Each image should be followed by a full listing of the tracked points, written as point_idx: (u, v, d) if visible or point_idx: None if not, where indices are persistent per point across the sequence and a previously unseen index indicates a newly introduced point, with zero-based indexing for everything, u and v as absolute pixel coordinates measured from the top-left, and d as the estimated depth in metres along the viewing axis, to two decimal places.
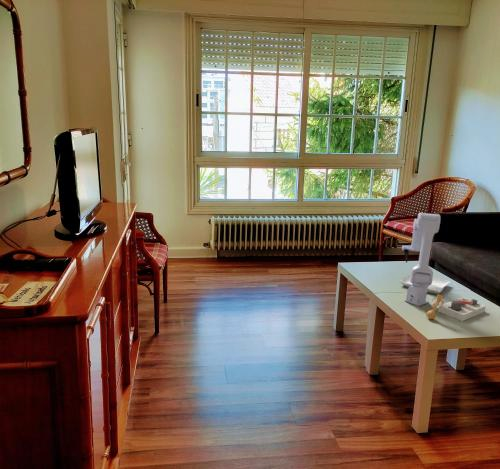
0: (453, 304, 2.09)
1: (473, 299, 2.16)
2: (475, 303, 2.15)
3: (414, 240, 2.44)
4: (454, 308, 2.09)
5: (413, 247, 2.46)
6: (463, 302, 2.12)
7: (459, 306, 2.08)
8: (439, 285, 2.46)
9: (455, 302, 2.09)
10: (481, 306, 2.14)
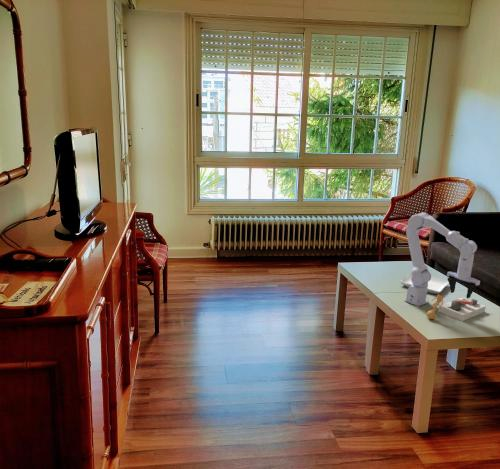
0: (453, 304, 2.09)
1: (473, 299, 2.16)
2: (475, 303, 2.15)
3: None
4: (454, 308, 2.09)
5: (457, 274, 2.07)
6: (463, 302, 2.12)
7: (459, 306, 2.08)
8: (439, 285, 2.46)
9: (455, 302, 2.09)
10: (481, 306, 2.14)
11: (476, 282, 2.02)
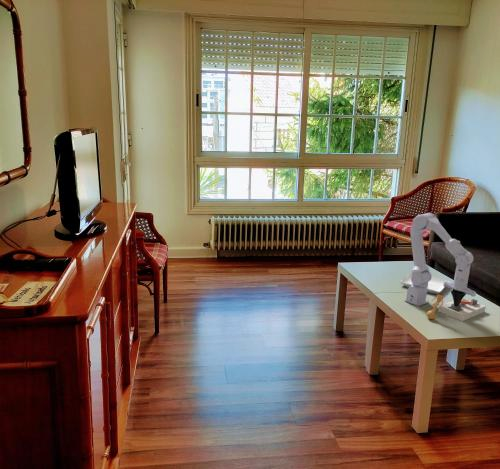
0: (452, 307, 2.09)
1: (473, 299, 2.16)
2: (475, 303, 2.15)
3: None
4: None
5: (453, 284, 2.08)
6: (463, 302, 2.12)
7: (458, 309, 2.08)
8: (439, 285, 2.46)
9: None
10: (481, 306, 2.14)
11: (472, 293, 2.02)
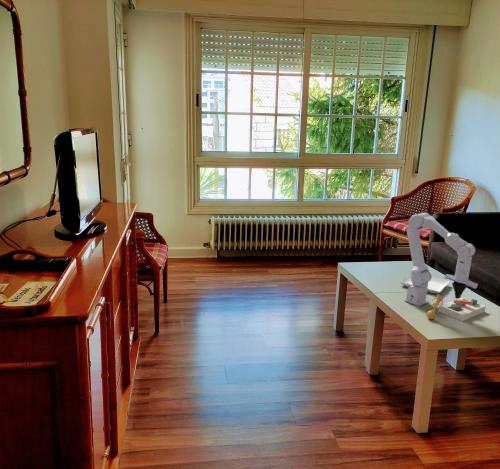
0: (452, 308, 2.09)
1: (473, 299, 2.16)
2: (475, 303, 2.15)
3: None
4: None
5: (455, 276, 2.07)
6: (463, 302, 2.12)
7: (458, 310, 2.08)
8: (439, 285, 2.46)
9: (454, 306, 2.10)
10: (481, 306, 2.14)
11: (473, 285, 2.01)
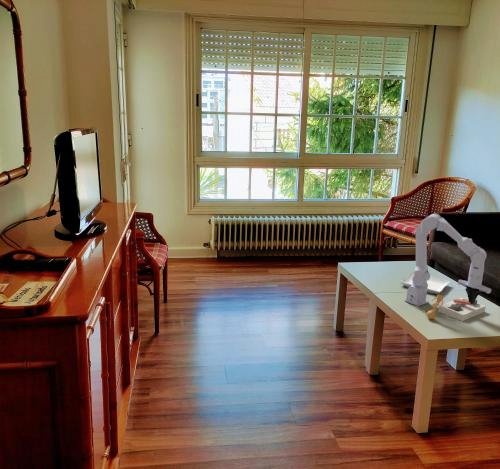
0: (452, 308, 2.09)
1: None
2: (475, 303, 2.15)
3: None
4: None
5: (468, 282, 2.08)
6: (463, 302, 2.12)
7: (458, 310, 2.08)
8: (439, 285, 2.46)
9: (454, 306, 2.10)
10: (481, 306, 2.14)
11: (487, 290, 2.02)
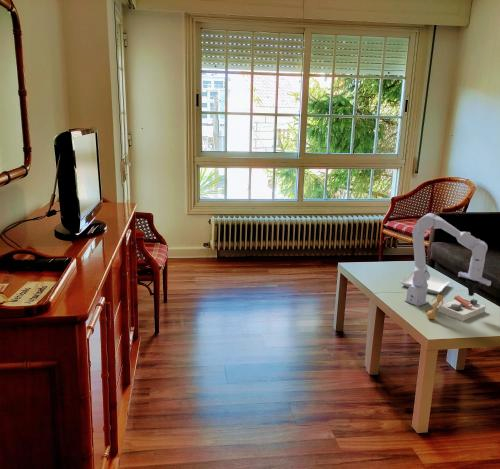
0: (452, 308, 2.09)
1: (473, 299, 2.16)
2: (475, 303, 2.15)
3: None
4: None
5: (468, 274, 2.08)
6: (463, 303, 2.12)
7: (458, 310, 2.08)
8: (439, 285, 2.46)
9: (454, 306, 2.10)
10: (481, 306, 2.14)
11: (487, 282, 2.02)
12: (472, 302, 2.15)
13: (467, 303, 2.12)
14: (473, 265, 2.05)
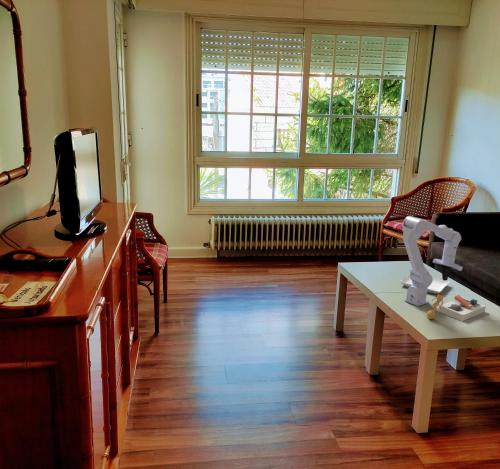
0: (452, 308, 2.09)
1: (473, 299, 2.16)
2: (475, 303, 2.15)
3: (443, 252, 2.25)
4: None
5: (442, 260, 2.25)
6: (463, 303, 2.12)
7: (458, 310, 2.08)
8: (439, 285, 2.46)
9: (454, 306, 2.10)
10: (481, 306, 2.14)
11: (459, 268, 2.19)
12: (472, 302, 2.15)
13: (467, 303, 2.12)
14: (452, 253, 2.21)
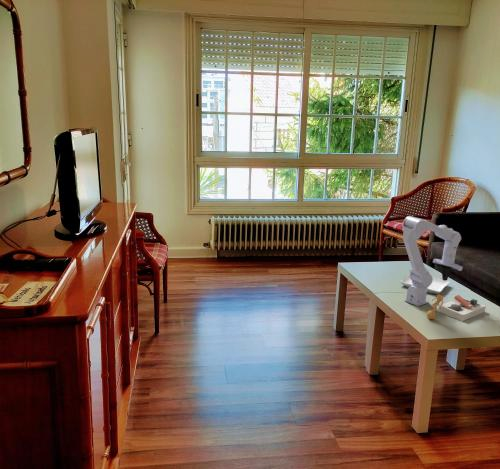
0: (452, 308, 2.09)
1: (473, 299, 2.16)
2: (475, 303, 2.15)
3: (443, 252, 2.25)
4: None
5: (442, 260, 2.25)
6: (463, 303, 2.12)
7: (458, 310, 2.08)
8: (439, 285, 2.46)
9: (454, 306, 2.10)
10: (481, 306, 2.14)
11: (459, 268, 2.19)
12: (472, 302, 2.15)
13: (467, 303, 2.12)
14: (452, 253, 2.21)
